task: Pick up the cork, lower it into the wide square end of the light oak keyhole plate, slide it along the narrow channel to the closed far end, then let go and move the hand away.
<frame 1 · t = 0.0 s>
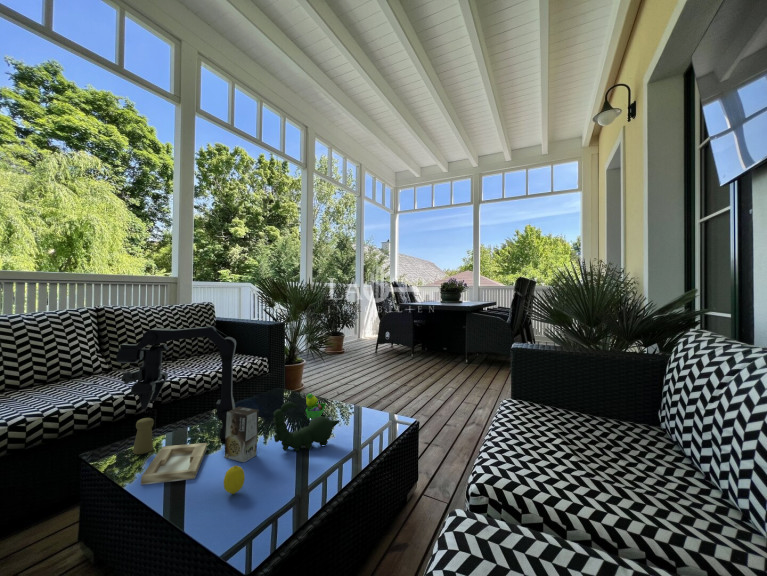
hand: (148, 405, 120), 15 cm above the table, tool pointing down, fingers open, 9 cm apart
keyhole plate: (177, 465, 107), on the table
coffee box: (240, 456, 115), on the table
lemon: (233, 494, 94), on the table
cork: (142, 450, 116), on the table
fruit basket: (314, 417, 156), on the table
toy figurine: (305, 448, 125), on the table
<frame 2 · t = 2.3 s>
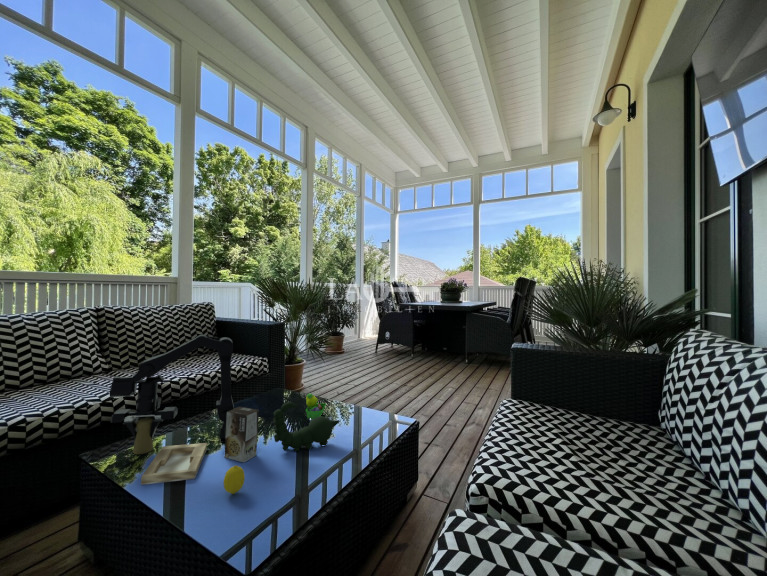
hand: (143, 438, 116), 4 cm above the table, tool pointing down, fingers closed on cork, 4 cm apart
cork: (142, 450, 116), on the table, touching gripper
everything else where it was.
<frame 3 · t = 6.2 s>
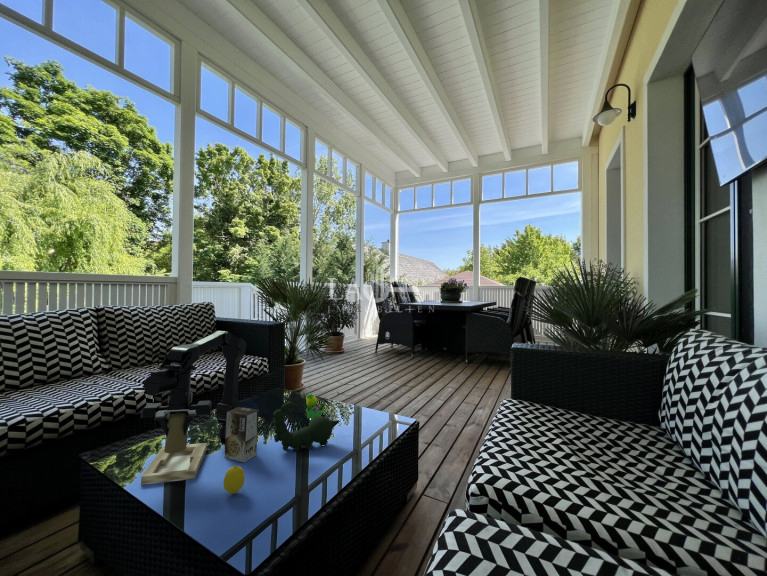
hand: (176, 436, 104), 11 cm above the table, tool pointing down, fingers closed on cork, 4 cm apart
cork: (175, 449, 103), point 7 cm above the table, touching gripper
everything else where it was.
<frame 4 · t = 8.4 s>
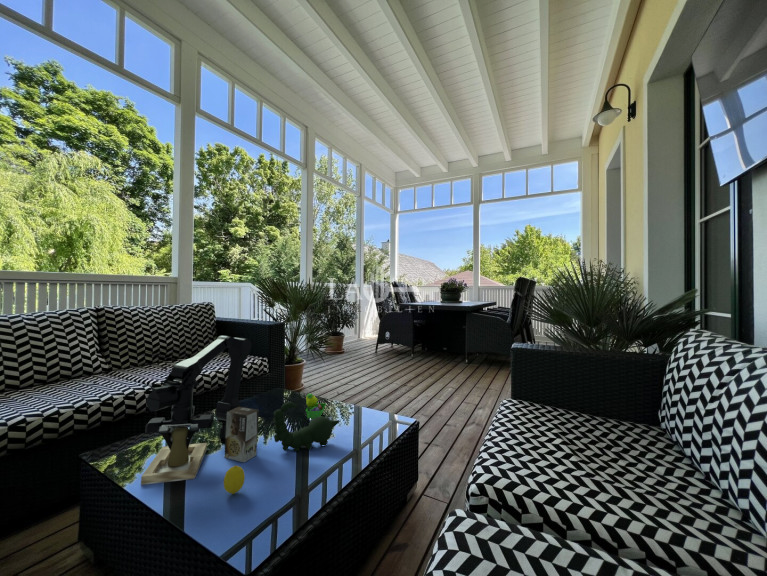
hand: (179, 449, 108), 5 cm above the table, tool pointing down, fingers closed on cork, 4 cm apart
cork: (178, 462, 108), point 1 cm above the table, touching gripper
everything else where it was.
when the fingers open (5 cm above the table, at t = 10.3 s): cork stays where it is, resting on keyhole plate.
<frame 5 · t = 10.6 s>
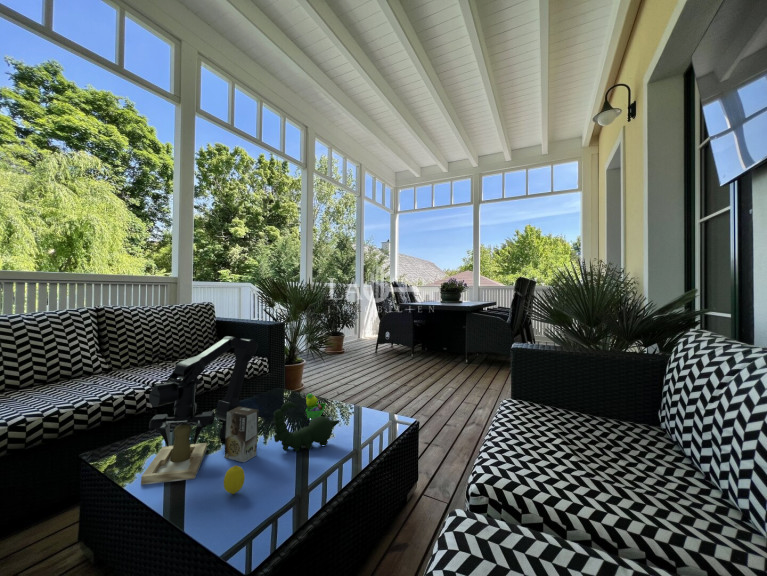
hand: (181, 445, 111), 5 cm above the table, tool pointing down, fingers open, 8 cm apart
cork: (180, 458, 111), resting on keyhole plate
everything else where it was.
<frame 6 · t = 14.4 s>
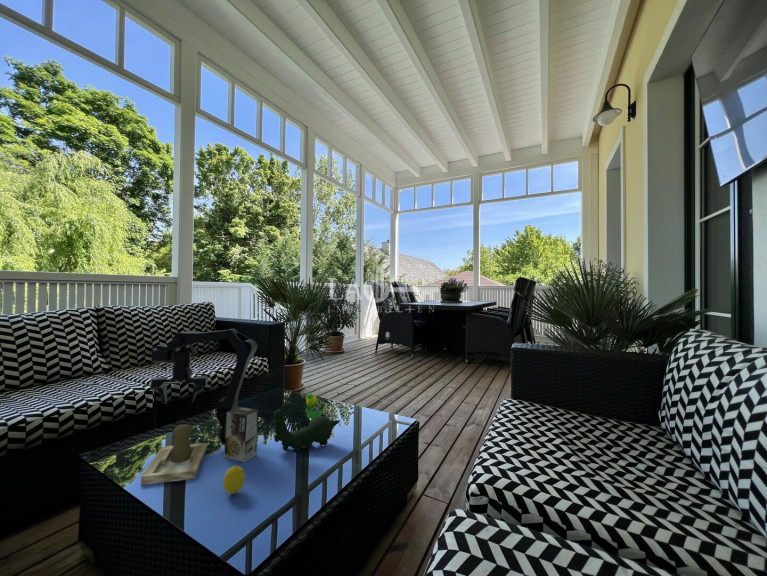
hand: (178, 403, 129), 13 cm above the table, tool pointing down, fingers open, 9 cm apart
nothing on the table moved.
at the end: cork 0.0 cm from the target spot on the keyhole plate, point 0.2 cm above the keyhole plate's base; cork tilted 0°; the gripper is holding nothing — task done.
